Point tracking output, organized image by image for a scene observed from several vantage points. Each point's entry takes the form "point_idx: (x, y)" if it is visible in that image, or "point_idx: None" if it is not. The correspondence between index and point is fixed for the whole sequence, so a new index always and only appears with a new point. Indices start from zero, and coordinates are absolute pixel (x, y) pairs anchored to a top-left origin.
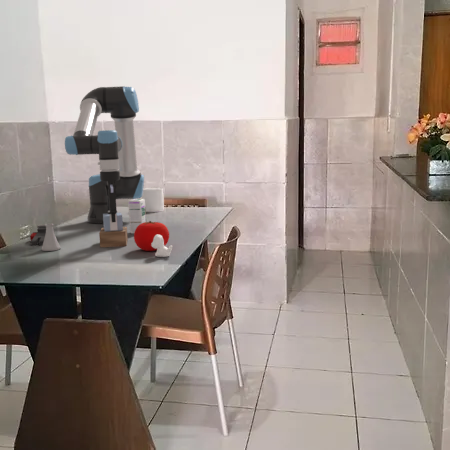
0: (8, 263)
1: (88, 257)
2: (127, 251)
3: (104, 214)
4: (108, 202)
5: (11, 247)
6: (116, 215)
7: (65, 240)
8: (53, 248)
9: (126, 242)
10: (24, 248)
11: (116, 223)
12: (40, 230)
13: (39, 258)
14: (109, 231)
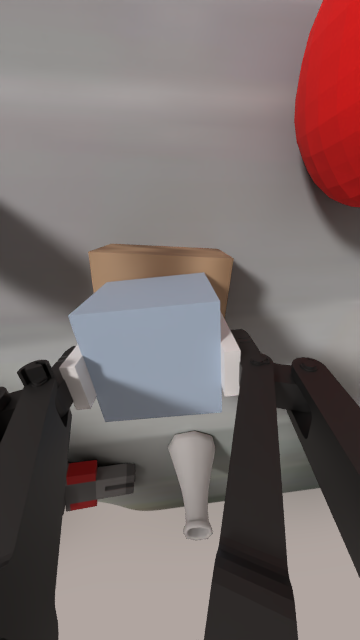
0: (296, 487)
1: (335, 362)
2: (320, 243)
3: (141, 413)
4: (64, 480)
5: (145, 504)
6: (236, 343)
7: (81, 431)
8: (213, 446)
9: (191, 248)
10: (162, 486)
11: (223, 319)
12: (63, 506)
13: (280, 453)
14: None
